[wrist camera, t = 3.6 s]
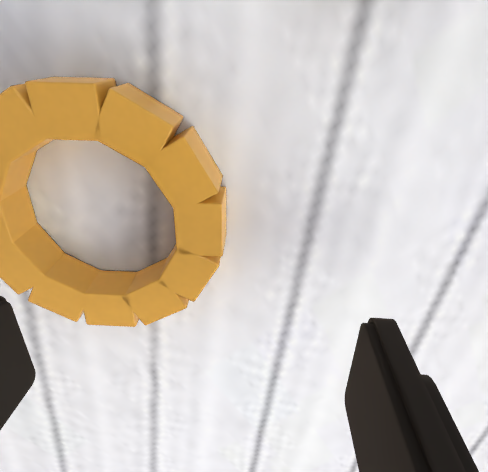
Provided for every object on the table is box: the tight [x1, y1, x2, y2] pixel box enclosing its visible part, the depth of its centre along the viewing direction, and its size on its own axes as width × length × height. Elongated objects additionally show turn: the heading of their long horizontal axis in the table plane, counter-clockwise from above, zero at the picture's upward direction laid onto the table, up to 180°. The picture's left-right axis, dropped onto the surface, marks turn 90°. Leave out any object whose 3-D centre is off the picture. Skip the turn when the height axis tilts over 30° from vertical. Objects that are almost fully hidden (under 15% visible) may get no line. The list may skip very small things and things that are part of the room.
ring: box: [0, 77, 226, 327], centre depth 16 cm, size 11×11×2 cm
